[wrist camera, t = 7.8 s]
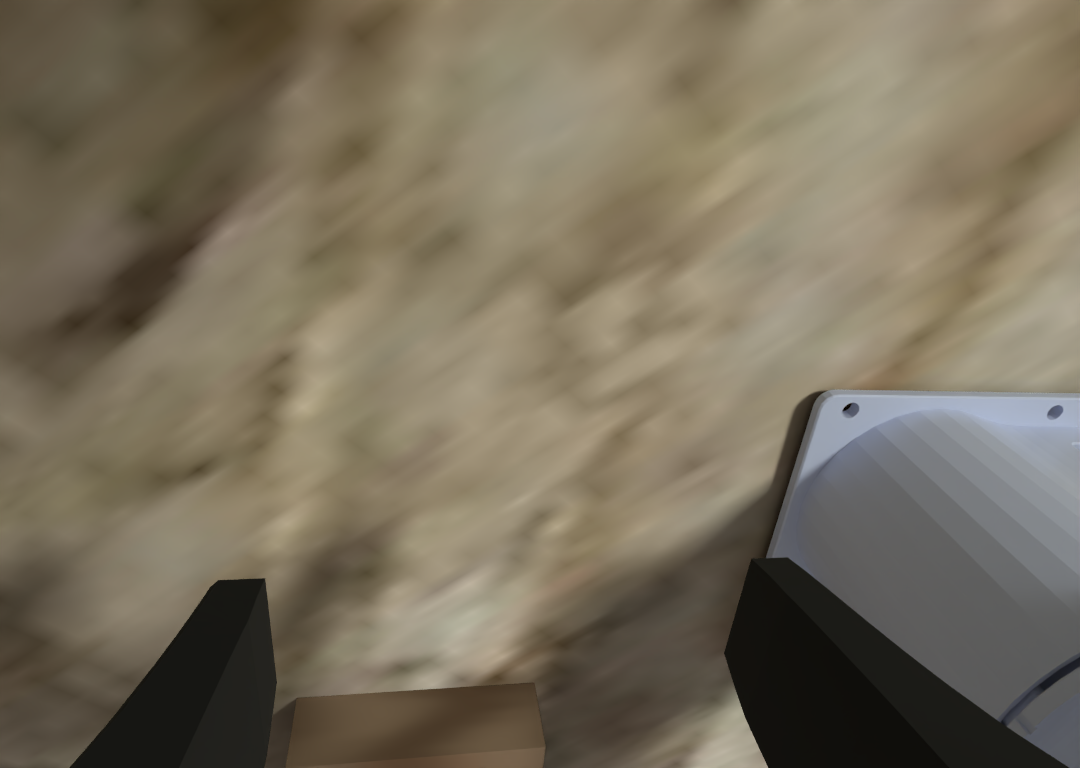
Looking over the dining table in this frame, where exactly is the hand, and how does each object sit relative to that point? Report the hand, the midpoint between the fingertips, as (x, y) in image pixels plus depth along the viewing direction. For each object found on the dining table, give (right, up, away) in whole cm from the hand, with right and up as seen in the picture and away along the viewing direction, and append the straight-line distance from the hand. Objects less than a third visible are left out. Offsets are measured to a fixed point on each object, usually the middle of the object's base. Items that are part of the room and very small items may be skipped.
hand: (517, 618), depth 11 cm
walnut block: (-4, -10, +16) cm, 20 cm away
